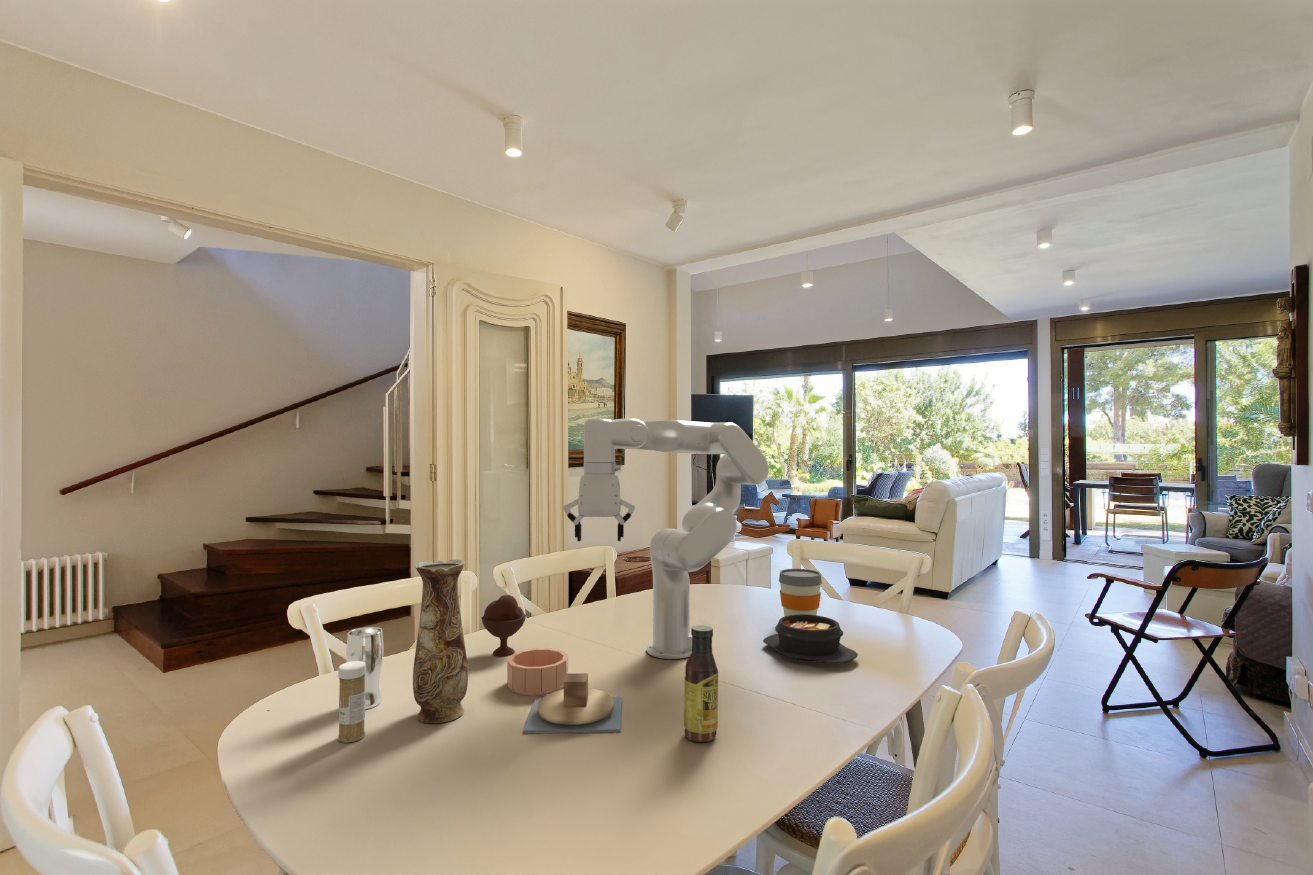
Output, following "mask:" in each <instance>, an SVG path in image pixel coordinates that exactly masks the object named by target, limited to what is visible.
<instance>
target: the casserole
mask: <svg viewBox="0 0 1313 875" xmlns="http://www.w3.org/2000/svg"><path fill="white" fill-rule="evenodd" d="M774 630H775V632H776V633H774V634H771V635H768V636H766V637H764V638H763V640H762V642H763V643H764V644H766V645H767V646H769V647H771V648H772V649H774V651H776V652H777V653H779V654H781V655H784V656H786V657H790V658H792V659H794V660H799V661H804V662H812V661H816V662H819V663H824V664H825V663H826V664H831V665H832V664H833V665H834V664H835V665H836V664H842V663H847V662H852V661H853V660H855V659H857V657H858V656H859V654H858V652H856V651H855V650H853V649H852V648H850V647H846V646H845V645H844V644H842V643H840V642H841V638H842V637H843V636H844V630H843V629H841V626H840V623H839V622H838V621H837V620H835V619H833V618H830V617H826V616H821V615H806V614H799V615H789V616H785V617H784V616H782V617H780V618H779V619H778V623H777V625H776V626H775V627H774Z"/></svg>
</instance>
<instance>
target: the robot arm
mask: <svg viewBox="0 0 1313 875" xmlns="http://www.w3.org/2000/svg"><path fill="white" fill-rule="evenodd" d="M618 449H620V450H622V449H623V450H645V451H646V450H647V451H656V452H661V453H676V454H695V455H696V454H699V455H702V454H703V455H722V456H721V457H720V458H719V460H718V462H717V463H716V467H715V468H716V469H715V474H716V475H715V478H716V479H715V484H714V487H713V488H712V490H711V491H710V492H709V493H708V494H707V495H705V496H704V497H703V498H702V499H701V500H699V501H698V502H697V503H696V504H695V505H694V506H693V507H691V508H690V509H689V510H688V511H687V512H686V513H685V514H684V516H683V518H682V520H681V521H682V522H681V528H682V529H683V530H681V529H677V528H672V527H667V528H662V529H659V530H658V531H656V533H654V534H653V535H652V538H651V540H650V543H649V558H650V562H651V571H652V641H651V642H650V643H648V645H647V646H646V652H647V654H648V655H650V656H651V657H655V658H658V659H659V658H660V659H667V660H679V659H685V658H689V656H690V655H691V653H692V635H691V629H690V627H691V626H690V620H691V619H690V618H691V617H690V616H691V615H690V613H691V612H690V606H691V604H690V603H691V602H690V601H691V597H690V596H691V592H690V591H691V588H690V587H691V582H690V576H689V573H691V572H692V573H693V572H696V571H698V570H700V569H702V568H703V567H705V566H706V565H707V564H708V563H710V561H711V560H713V559H714V558H715V557H717V555H718V554H719V553H720V552H722V551H723V549H725V548H726V547H727V546H728V545H729V544H730V543H731V542H732V540H733V539H734V537H735V535H736V533H737V532H736V531H737V526H738V525H737V524H738V523H737V519H736V516H735V515H734V514H735V513H736V511H737V510H738V508H740V504H741V499H742V498H741V497H742V495H741V494H742V493H741V492H742V485H749V486H757V485H760V484H762V483H764V481H766V479H767V478H768V476H769V472H770V470H769V463H768V461H767V458H766V456H765V455H764V454H763V452H762V451H761V450H760V449H759V447H757V445H756V444H755V443H754V441H753V440H752V439H751V438H750V437H749V435H748V434H747V433H746V432H745V430H743V429H742V428H741V427H740V426H739V425H738V424H736V423H734V422H729V421H728V422H709V421H707V422H706V421H705V422H704V421H690V420H682V419H681V420H679V419H677V420H676V419H669V420H668V419H665V420H655V421H654V420H651V421H650V420H649V421H644V420H643V421H642V420H640V419H637V418H631V417H630V418H616V419H610V418H589V419H586V420H585V422H584V424H583V474H582V475H580V479H579V488H578V498H577V499H575V500H573V501H571V502H569V503H567V504H565V505H564V506H562V507H563V508H562V509H563V511H564V512H565V515H566V516H567V518H568V519H569V520H570V521H571V522H572V523H573V525H574V538H577V539H576V541H577V542H581V541H582V523H581V521H582V520H583V518H615V520H616V521H617V522H618V523H617V541H618V542H621V540H622V538H624V537H625V535H624V530H625V528H624V525H625V523H627V521H628V520H629V519H630V518H632V516H633V513H634V511H635V509H636V506H635V505H634V504H632V503H630V502H628V501H626V500H624V499H623V498H622V497H621V486H620V479H619V475H617V474H616V472H618V471H622V465H620V464H617V463H616V450H618ZM576 506H577V513H578V515H577V516H576V515H574V513H573V512H572V511H571V509H572V508H574V507H576ZM622 506H623V507H624V508H626V509H627V512H626V514H624V515H623V516H622V515H621V514H620V513H621V507H622Z"/></svg>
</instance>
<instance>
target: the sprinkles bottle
mask: <svg viewBox="0 0 1313 875" xmlns="http://www.w3.org/2000/svg"><path fill="white" fill-rule="evenodd" d="M337 672H338V674H337V675H338V679H339V693H338V694H339V696H338V722H339V724H338V736H337V737H338V738H337V739H338V741H339V742H341V743H347V744H348V743H349V744H350V743H354V742H356V741H360V740H361V739H363V738H364V737H365V736H366V731H365V719H366V710H365V673H366V664H365V663H364V662H362V661H352V662H347V661H346V662H345V663H342V664H340V665H339V666H338V671H337Z"/></svg>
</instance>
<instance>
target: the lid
mask: <svg viewBox="0 0 1313 875" xmlns="http://www.w3.org/2000/svg"><path fill="white" fill-rule="evenodd" d="M612 697H613V696H612V695H611V694H609V693H608V692H605V691H604V690H599V689H595V688H589V673H587V672H586V673H583V672H581V673H577V672H576V673H571V672H570V673H568V674H566V676H565V679H564V688H563V689H562V690H559V691H556V692H552V693H550V694H547V695H543V696H542V697H541V698H542V699H540V701H539V702H538V714H539V715H540V717H542V718H543V719H545V720H547V721H549V722H553V723H557V724H565V725H577V724H586V723H591V722H595V721H598V720H601V719H603V718H605V717H607V716H608V715H609V714H611V712H612V711H613V709H614V700H613V698H612Z"/></svg>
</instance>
